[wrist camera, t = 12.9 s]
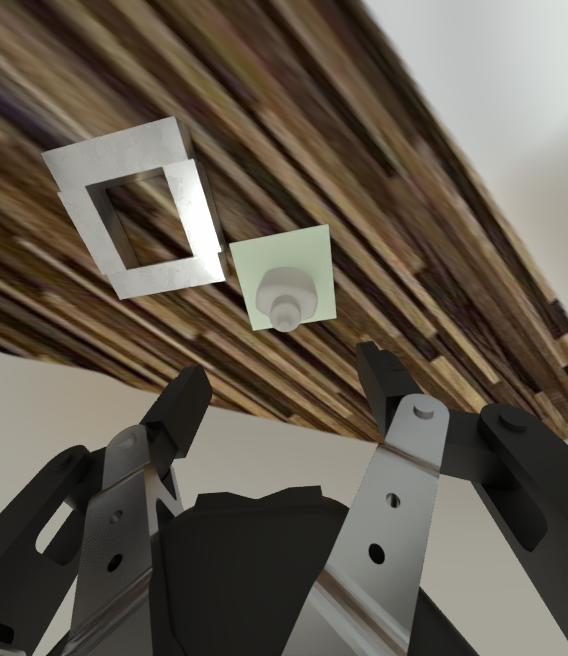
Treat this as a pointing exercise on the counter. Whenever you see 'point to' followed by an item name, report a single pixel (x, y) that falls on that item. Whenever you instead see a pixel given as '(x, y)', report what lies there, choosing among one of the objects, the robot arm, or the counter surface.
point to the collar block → (130, 166)
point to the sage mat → (286, 251)
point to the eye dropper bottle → (286, 297)
